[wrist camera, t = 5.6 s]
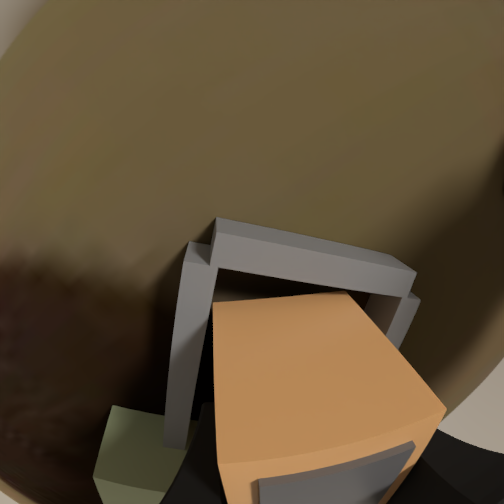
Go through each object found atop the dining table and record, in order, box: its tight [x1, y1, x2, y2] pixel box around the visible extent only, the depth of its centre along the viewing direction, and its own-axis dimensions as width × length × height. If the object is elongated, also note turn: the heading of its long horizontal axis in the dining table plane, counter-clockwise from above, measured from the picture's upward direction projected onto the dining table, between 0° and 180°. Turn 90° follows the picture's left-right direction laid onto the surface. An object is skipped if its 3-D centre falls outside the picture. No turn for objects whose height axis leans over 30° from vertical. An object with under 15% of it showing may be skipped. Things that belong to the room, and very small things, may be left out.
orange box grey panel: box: [213, 290, 447, 504], centre depth 8 cm, size 4×7×6 cm, turn 2°
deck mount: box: [93, 217, 421, 504], centre depth 11 cm, size 14×16×4 cm
